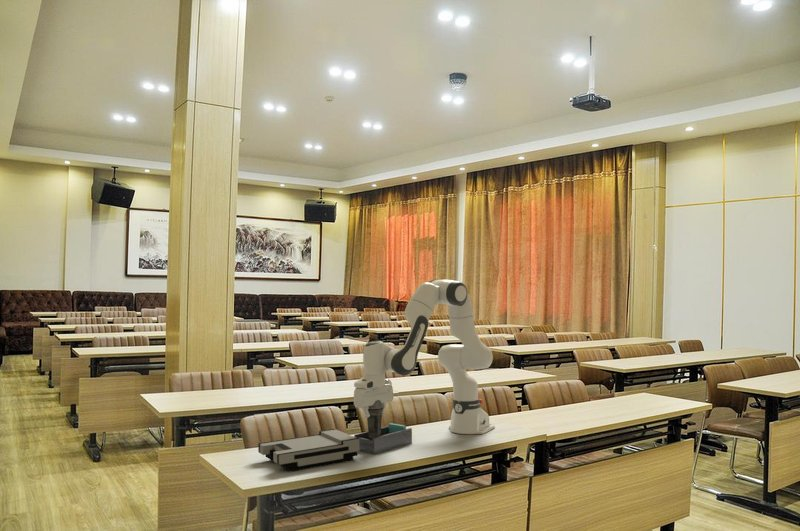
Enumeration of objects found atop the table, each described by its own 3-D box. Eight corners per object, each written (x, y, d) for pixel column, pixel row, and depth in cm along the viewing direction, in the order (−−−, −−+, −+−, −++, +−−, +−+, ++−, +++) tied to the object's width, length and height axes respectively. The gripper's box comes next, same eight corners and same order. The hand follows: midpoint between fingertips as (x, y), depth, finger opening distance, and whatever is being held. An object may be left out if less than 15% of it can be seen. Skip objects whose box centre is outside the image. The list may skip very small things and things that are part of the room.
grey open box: (392, 438, 258) (392, 424, 259) (411, 442, 251) (411, 428, 251) (354, 449, 241) (354, 434, 241) (374, 454, 234) (374, 438, 234)
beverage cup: (383, 435, 246) (383, 385, 247) (383, 439, 238) (383, 388, 240) (365, 435, 245) (365, 386, 247) (365, 439, 238) (364, 388, 239)
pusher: (391, 437, 256) (390, 423, 256) (406, 440, 250) (405, 425, 251) (388, 438, 255) (388, 423, 255) (403, 440, 249) (403, 426, 249)
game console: (258, 461, 226) (258, 439, 226) (334, 449, 243) (334, 428, 244) (278, 475, 209) (278, 451, 209) (359, 460, 226) (359, 438, 226)
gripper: (385, 377, 253) (385, 411, 252) (351, 383, 237) (351, 418, 237) (396, 379, 249) (397, 412, 248) (362, 384, 233) (362, 420, 233)
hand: (374, 415), depth 242 cm, fingers closed on beverage cup, 7 cm apart
